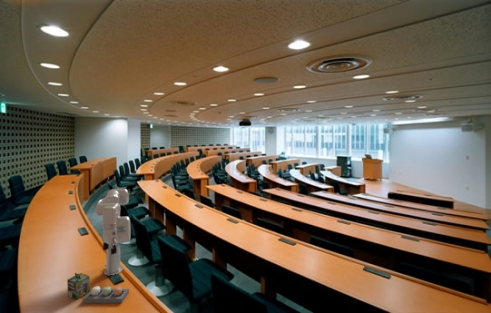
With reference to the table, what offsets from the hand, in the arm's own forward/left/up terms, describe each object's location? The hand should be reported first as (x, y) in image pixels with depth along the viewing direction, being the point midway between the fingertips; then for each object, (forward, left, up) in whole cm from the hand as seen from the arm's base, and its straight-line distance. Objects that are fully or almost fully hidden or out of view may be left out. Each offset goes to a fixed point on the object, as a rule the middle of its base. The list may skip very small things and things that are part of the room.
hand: (109, 251), depth 153 cm
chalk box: (-21, -8, -32) cm, 39 cm away
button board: (-2, -1, -31) cm, 31 cm away
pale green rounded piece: (-2, -1, -29) cm, 29 cm away
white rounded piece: (-8, -4, -29) cm, 30 cm away
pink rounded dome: (+4, +3, -29) cm, 29 cm away
